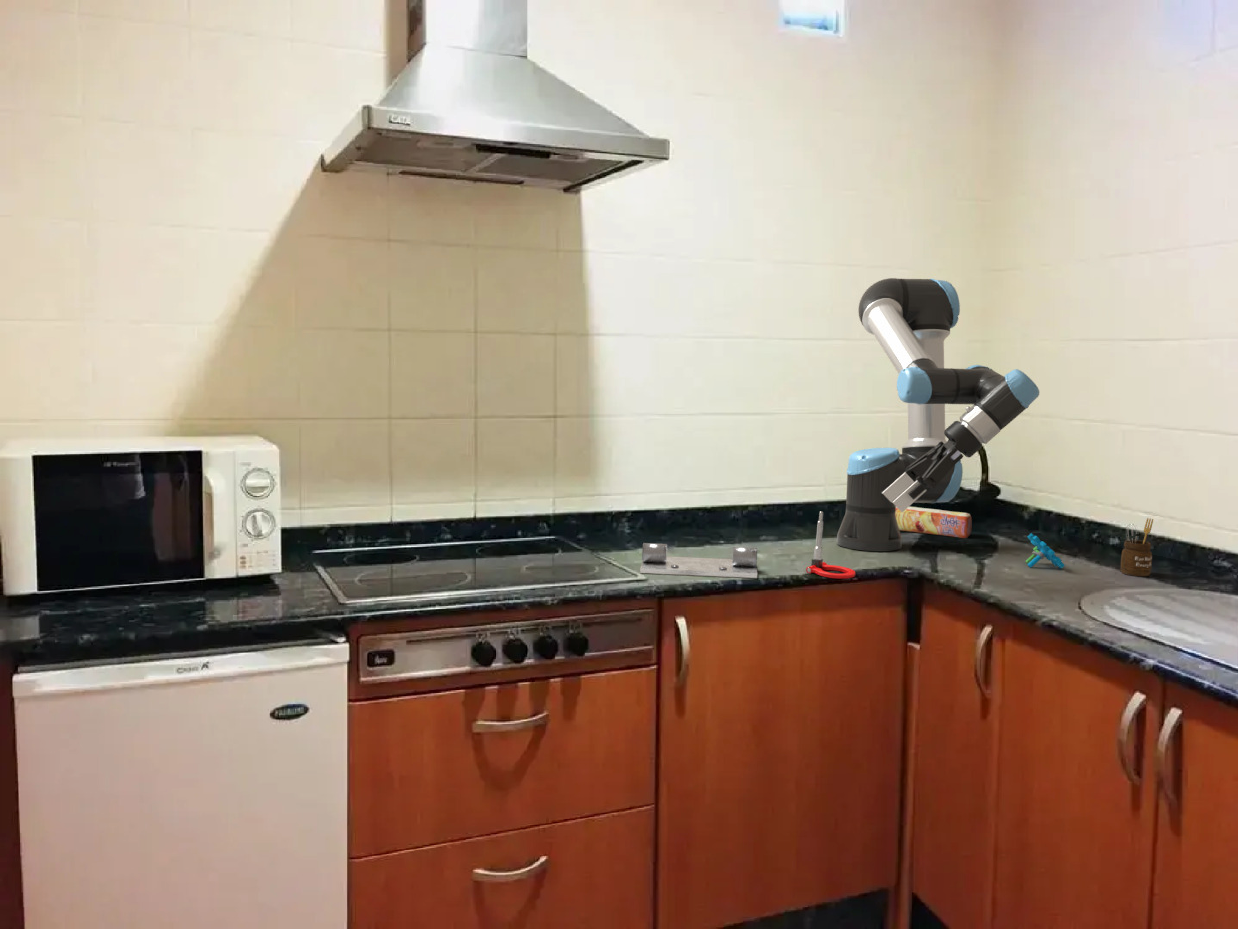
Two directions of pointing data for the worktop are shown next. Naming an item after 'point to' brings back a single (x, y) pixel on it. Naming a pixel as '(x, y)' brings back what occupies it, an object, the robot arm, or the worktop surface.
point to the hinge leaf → (699, 563)
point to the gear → (1042, 553)
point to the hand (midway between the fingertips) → (891, 502)
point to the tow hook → (818, 561)
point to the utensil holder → (1137, 555)
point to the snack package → (934, 522)
